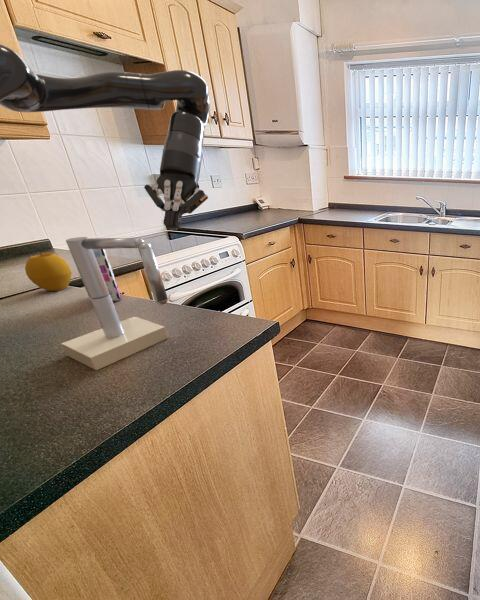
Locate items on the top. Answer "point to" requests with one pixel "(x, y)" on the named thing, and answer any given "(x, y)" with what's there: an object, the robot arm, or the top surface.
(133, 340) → the tap stand
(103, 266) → the candy bar box
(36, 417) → the top surface
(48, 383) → the top surface
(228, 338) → the top surface
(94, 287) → the spout
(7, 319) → the top surface
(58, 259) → the yellow fruit
